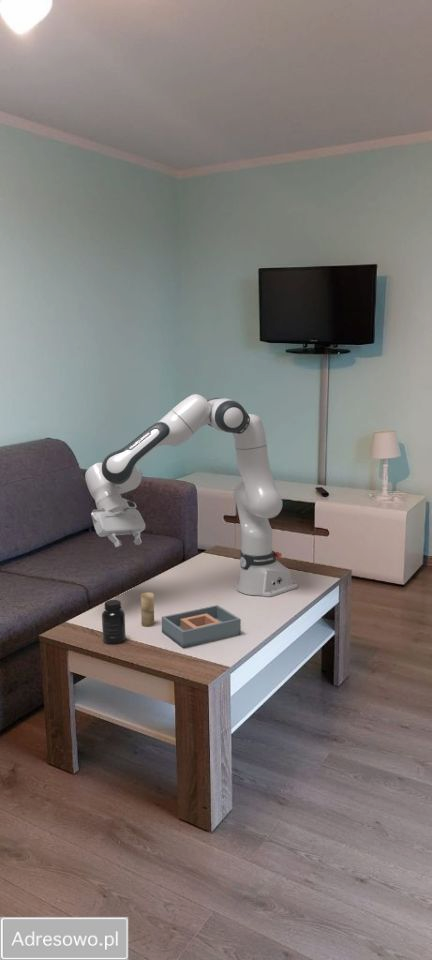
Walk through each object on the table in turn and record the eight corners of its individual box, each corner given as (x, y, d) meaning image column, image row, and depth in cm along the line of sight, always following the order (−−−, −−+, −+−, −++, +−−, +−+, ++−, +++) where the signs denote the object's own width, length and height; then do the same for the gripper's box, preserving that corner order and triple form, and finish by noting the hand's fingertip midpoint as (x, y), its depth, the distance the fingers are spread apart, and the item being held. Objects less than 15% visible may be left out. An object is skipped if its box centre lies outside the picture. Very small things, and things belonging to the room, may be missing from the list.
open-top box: (217, 619, 234) (217, 604, 233) (240, 634, 222) (240, 619, 221) (161, 632, 224) (161, 616, 223) (182, 648, 213) (182, 632, 212)
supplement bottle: (105, 635, 222) (103, 598, 220) (127, 635, 222) (126, 598, 220) (100, 644, 215) (99, 606, 213) (123, 644, 215) (122, 606, 213)
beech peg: (150, 621, 233) (150, 591, 232) (156, 625, 230) (155, 595, 228) (139, 623, 231) (138, 593, 230) (144, 627, 228) (144, 597, 226)
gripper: (95, 504, 229) (112, 542, 224) (138, 502, 245) (155, 538, 241) (83, 515, 232) (100, 552, 227) (127, 512, 248) (143, 547, 244)
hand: (129, 545), depth 234 cm, fingers open, 8 cm apart
